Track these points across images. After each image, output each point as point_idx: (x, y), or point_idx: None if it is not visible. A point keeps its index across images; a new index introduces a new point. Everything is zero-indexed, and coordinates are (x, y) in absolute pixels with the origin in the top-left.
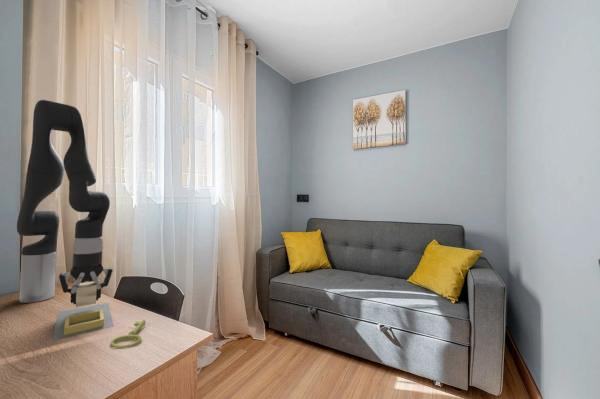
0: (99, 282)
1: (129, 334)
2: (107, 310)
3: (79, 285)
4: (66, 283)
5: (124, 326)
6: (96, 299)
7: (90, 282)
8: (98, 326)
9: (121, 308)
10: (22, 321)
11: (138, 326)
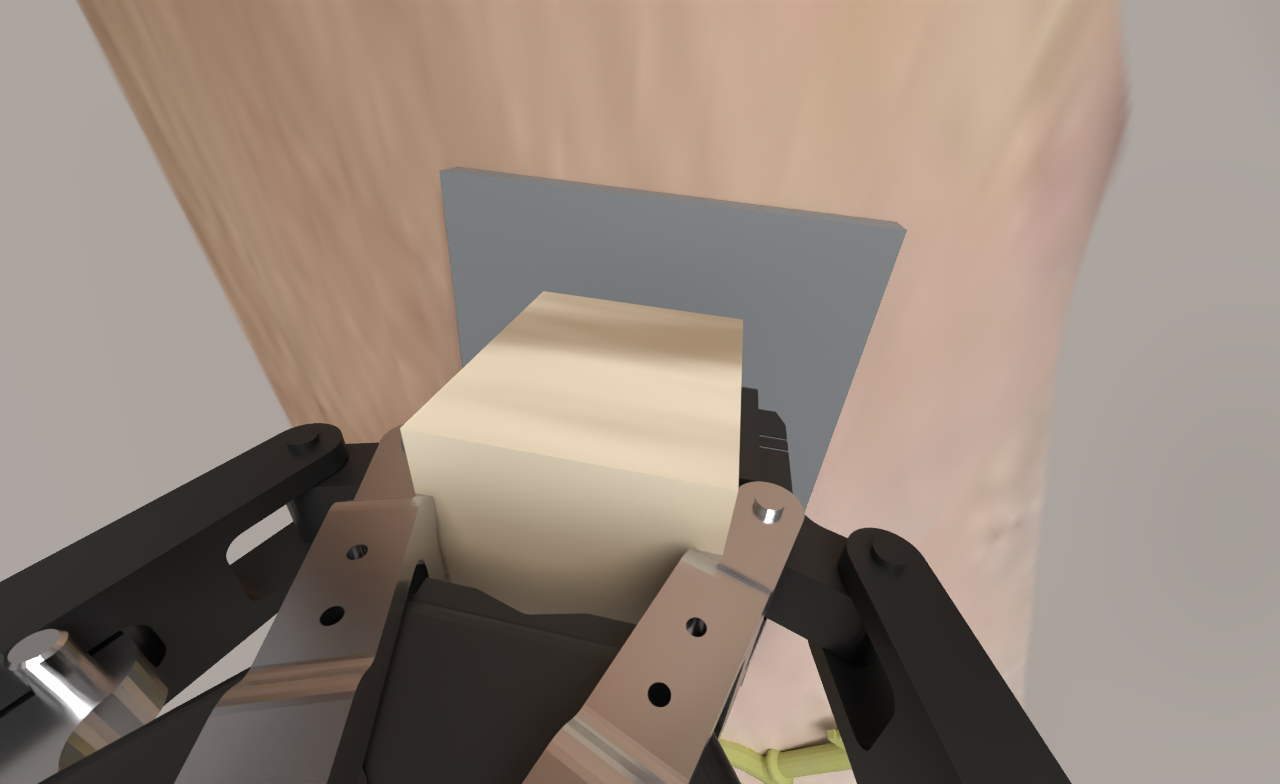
0: (775, 580)
1: (768, 767)
2: (802, 461)
3: (460, 539)
4: (244, 633)
5: (797, 674)
6: None
7: (629, 494)
8: None
9: (942, 416)
10: (222, 118)
11: (824, 772)
